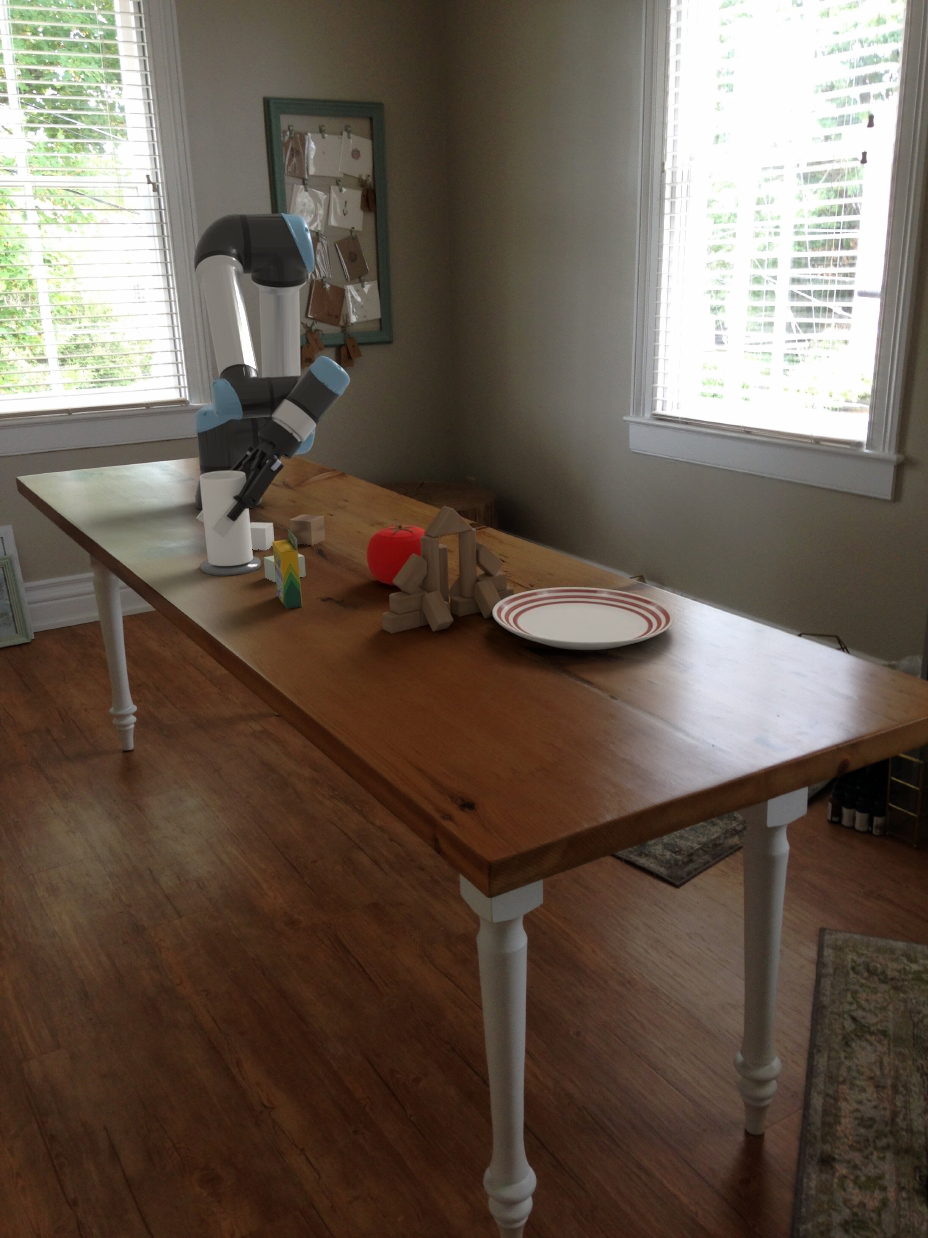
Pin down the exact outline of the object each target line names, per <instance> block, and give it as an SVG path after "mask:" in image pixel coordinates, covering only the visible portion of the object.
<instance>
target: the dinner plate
mask: <svg viewBox="0 0 928 1238" xmlns="http://www.w3.org/2000/svg"><path fill="white" fill-rule="evenodd" d="M492 614H493V617H492V618H493V619H494V620H495V621H496V622H497V623H498V624H499V625H500V626H501V627H502V628H504V629H505V630H507V631H508V632H511V633H512V634H514V635H516V636H519V637H521V638H524V639H526V640H528V641H532V642H534V643H535V642H536V643H538V644H542V645H546V646H549V647H554V648H559V649H565V650H576V651H577V650H578V651H580V650H581V651H599V650H607V649H616V648H619V647H624V646H627V645H631V644H635V643H640V642H643V641H646V640H648V639H651V638H654V637H656V636H657V635H660V634H662V633H664V632H665V631H667V630H668V629H670V628H671V627H672V626H673V624H674V622H675V615H674V613H673V612H672V611H671V610H670V609H669V608H668V607H667V606H666V605H664V604H662V602H661V603H660V602H658V601H657V600H655V599H651V598H649V597H645V596H644V595H639V594H635V593H633V592H632V593H631V592H627V591H621V590H615V589H607V588H597V587H585V586H584V587H583V586H581V587H579V586H576V587H575V586H573V587H571V586H568V587H567V586H565V587H564V586H563V587H550V588H539V589H534V590H533V589H532V590H528V591H523V592H519V593H516V594H515V593H514V595H512V596H509V597H507V598H505V599H503V600H501V601H500V602H498V603H497V604H496V605H495V606H494V608H493V611H492Z"/></svg>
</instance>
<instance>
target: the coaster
mask: <svg viewBox="0 0 928 1238" xmlns="http://www.w3.org/2000/svg"><path fill="white" fill-rule="evenodd" d="M199 566H200V571H201V572H202V573H204V574H206V575H209V576H211V575H212V576H220V577H221V576H224V577H225V576H237V574H238V575H245V574H248V573H247V572H249V573H251V571H252V572H254V571H256V569H257V570H258V569H260V566H261V567H262V560H261V559H260V558H259V557H257V556H255V555H253V559H252V560H251V561H250V562H248V563H245V564H240V565H234V566H216V565H212V564H210V563H208V559H205V560H203V561H202V562H201V563H200V565H199Z"/></svg>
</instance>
